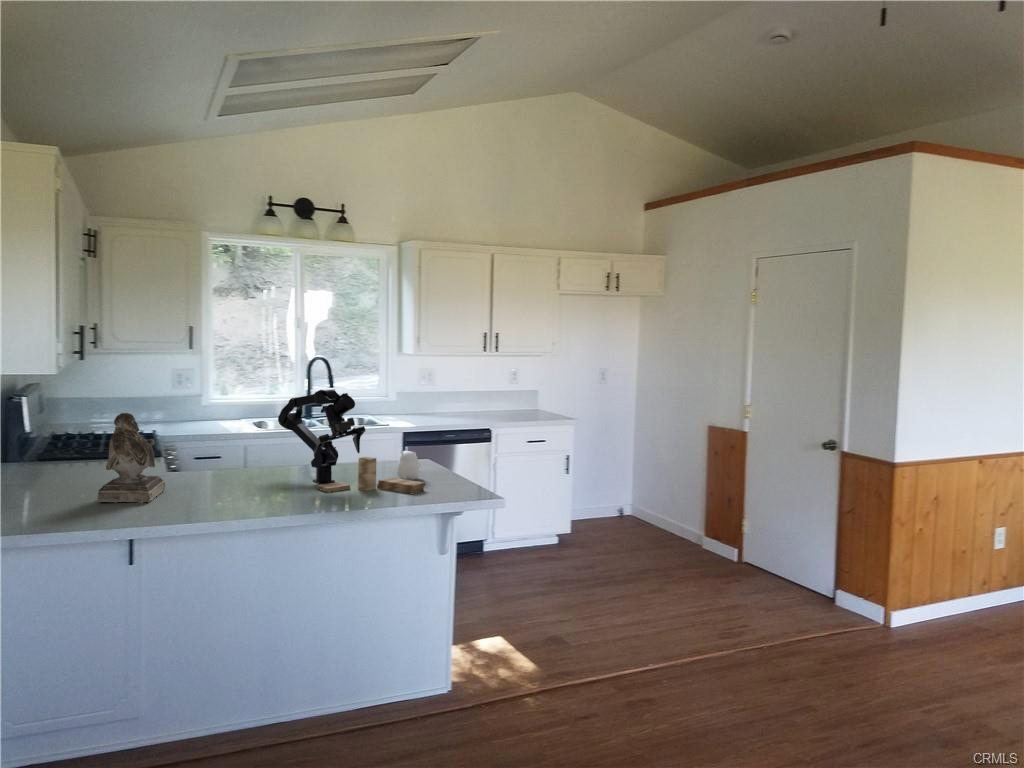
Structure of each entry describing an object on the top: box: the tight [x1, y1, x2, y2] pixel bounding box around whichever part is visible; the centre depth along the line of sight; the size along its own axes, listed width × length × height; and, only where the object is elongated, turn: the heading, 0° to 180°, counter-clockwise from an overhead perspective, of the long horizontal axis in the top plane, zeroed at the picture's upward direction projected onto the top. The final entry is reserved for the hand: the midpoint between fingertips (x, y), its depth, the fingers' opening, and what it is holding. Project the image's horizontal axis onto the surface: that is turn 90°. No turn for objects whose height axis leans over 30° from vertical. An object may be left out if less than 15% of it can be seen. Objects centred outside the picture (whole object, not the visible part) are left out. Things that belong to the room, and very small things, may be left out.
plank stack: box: [376, 476, 426, 494], centre depth 287 cm, size 17×7×3 cm, turn 62°
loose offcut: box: [316, 481, 351, 493], centre depth 285 cm, size 7×10×2 cm
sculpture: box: [97, 412, 166, 503], centre depth 262 cm, size 19×17×30 cm
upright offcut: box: [357, 456, 377, 491], centre depth 287 cm, size 5×4×12 cm
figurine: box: [396, 450, 422, 481], centre depth 305 cm, size 10×10×12 cm
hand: (347, 456), depth 289 cm, fingers open, 9 cm apart
